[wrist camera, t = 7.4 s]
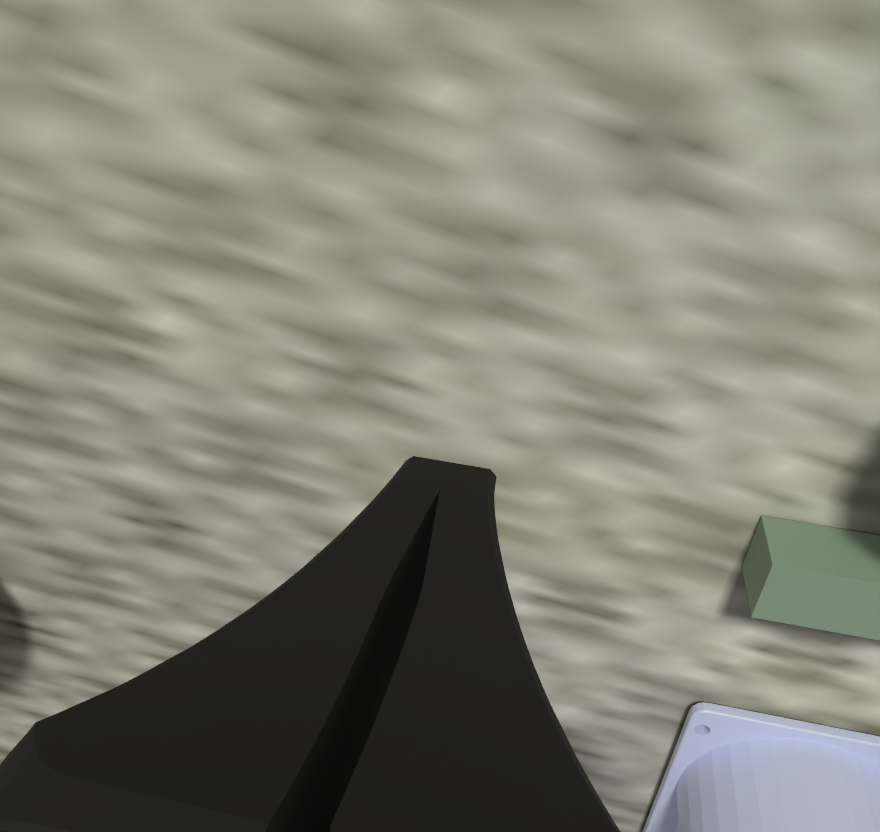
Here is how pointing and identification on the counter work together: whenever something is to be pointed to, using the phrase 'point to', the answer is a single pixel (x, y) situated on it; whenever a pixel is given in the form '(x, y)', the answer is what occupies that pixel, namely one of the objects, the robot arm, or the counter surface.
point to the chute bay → (814, 577)
